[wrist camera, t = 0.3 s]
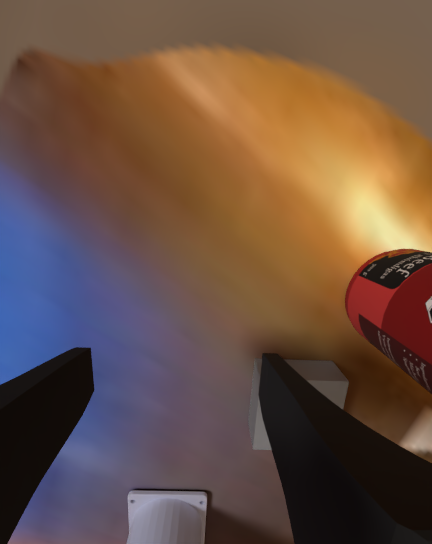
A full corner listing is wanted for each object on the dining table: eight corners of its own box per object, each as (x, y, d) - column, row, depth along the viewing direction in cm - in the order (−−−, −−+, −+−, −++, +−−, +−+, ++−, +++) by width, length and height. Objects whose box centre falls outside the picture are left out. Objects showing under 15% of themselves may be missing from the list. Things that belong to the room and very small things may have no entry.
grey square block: (318, 421, 24) (333, 451, 21) (247, 419, 23) (252, 449, 20) (330, 358, 22) (349, 381, 19) (254, 356, 22) (260, 378, 19)
